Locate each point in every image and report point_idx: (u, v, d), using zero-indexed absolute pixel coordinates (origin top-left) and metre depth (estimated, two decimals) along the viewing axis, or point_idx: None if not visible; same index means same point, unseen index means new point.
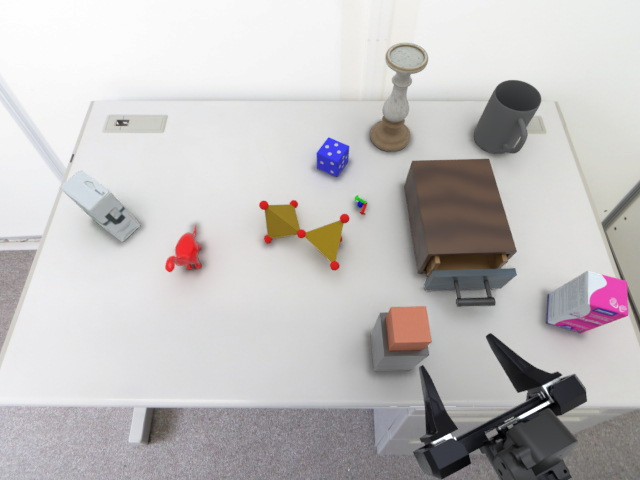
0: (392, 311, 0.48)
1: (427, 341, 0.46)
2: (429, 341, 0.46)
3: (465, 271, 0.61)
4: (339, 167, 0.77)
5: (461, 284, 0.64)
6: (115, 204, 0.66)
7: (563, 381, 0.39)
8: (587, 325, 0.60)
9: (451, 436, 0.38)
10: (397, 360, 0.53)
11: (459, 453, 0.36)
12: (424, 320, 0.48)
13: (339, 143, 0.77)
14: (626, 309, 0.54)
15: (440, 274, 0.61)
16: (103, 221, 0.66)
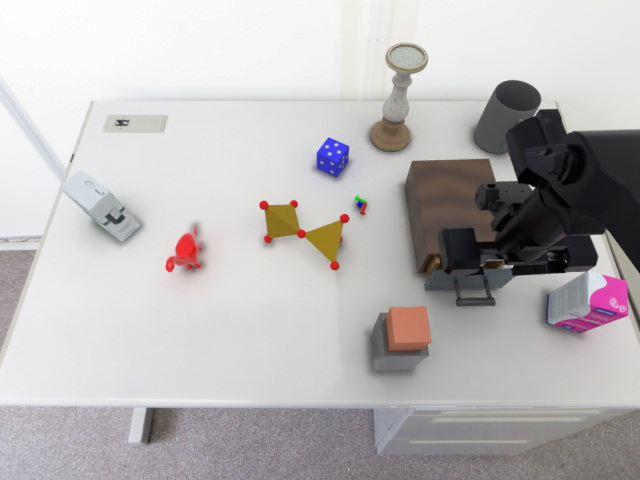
0: (392, 311, 0.48)
1: (427, 341, 0.46)
2: (429, 341, 0.46)
3: None
4: (339, 167, 0.77)
5: (461, 284, 0.64)
6: (115, 204, 0.66)
7: None
8: (587, 325, 0.60)
9: None
10: (397, 360, 0.53)
11: None
12: (424, 320, 0.48)
13: (339, 143, 0.77)
14: (626, 309, 0.54)
15: (440, 274, 0.61)
16: (103, 221, 0.66)
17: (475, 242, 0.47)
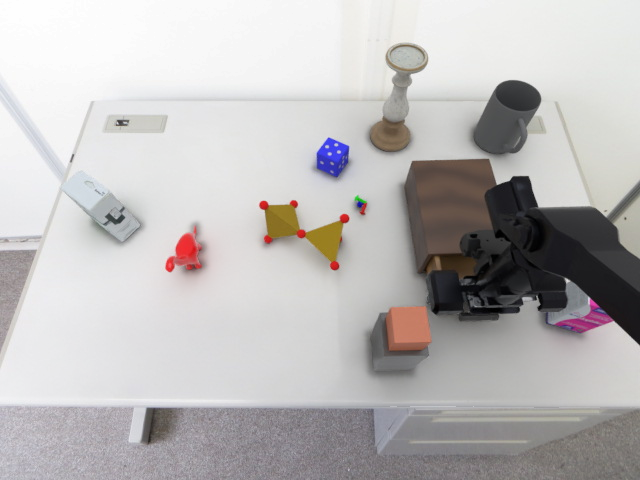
0: (392, 311, 0.48)
1: (427, 341, 0.46)
2: (429, 341, 0.46)
3: None
4: (339, 167, 0.77)
5: (464, 297, 0.63)
6: (115, 204, 0.66)
7: None
8: (587, 325, 0.60)
9: None
10: (397, 360, 0.53)
11: None
12: (424, 320, 0.48)
13: (339, 143, 0.77)
14: None
15: None
16: (103, 221, 0.66)
17: (459, 286, 0.53)
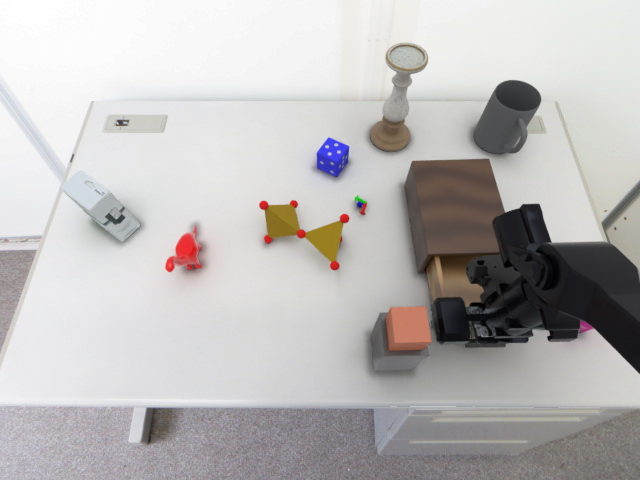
0: (392, 311, 0.48)
1: (427, 341, 0.46)
2: (429, 341, 0.46)
3: None
4: (339, 167, 0.77)
5: None
6: (115, 204, 0.66)
7: None
8: (587, 325, 0.60)
9: None
10: (397, 360, 0.53)
11: None
12: (424, 320, 0.48)
13: (339, 143, 0.77)
14: None
15: None
16: (103, 221, 0.66)
17: (465, 315, 0.51)
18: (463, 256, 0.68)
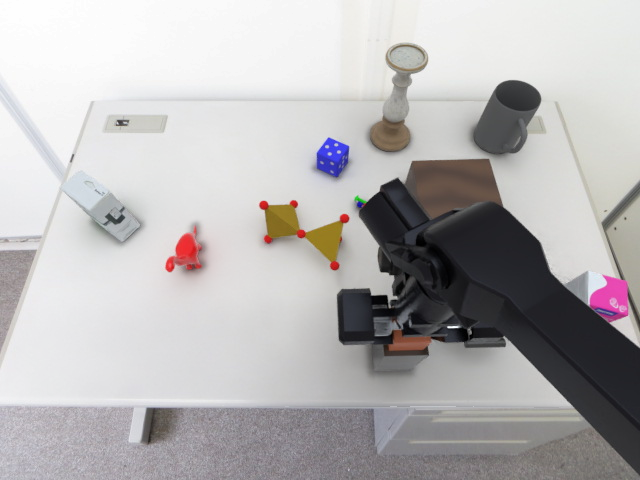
0: None
1: (427, 341, 0.46)
2: (429, 341, 0.46)
3: None
4: (339, 167, 0.77)
5: None
6: (115, 204, 0.66)
7: None
8: None
9: None
10: (397, 360, 0.53)
11: None
12: None
13: (339, 143, 0.77)
14: (626, 309, 0.54)
15: None
16: (103, 221, 0.66)
17: (371, 310, 0.42)
18: None
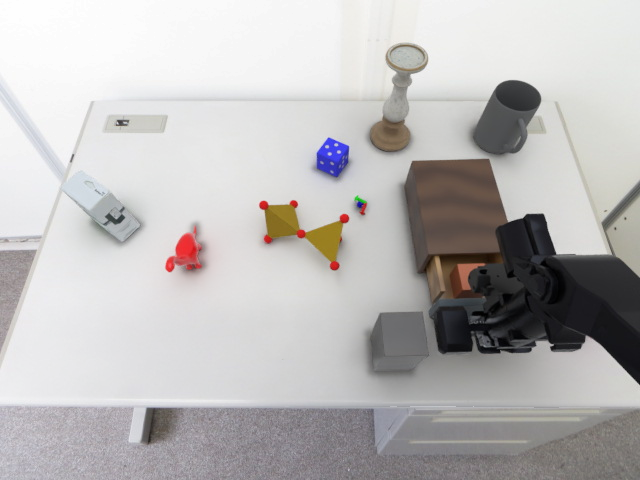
0: (459, 267, 0.62)
1: None
2: None
3: (471, 300, 0.59)
4: (339, 167, 0.77)
5: (467, 312, 0.62)
6: (115, 204, 0.66)
7: None
8: None
9: None
10: (397, 360, 0.53)
11: None
12: None
13: (339, 143, 0.77)
14: None
15: (445, 303, 0.59)
16: (103, 221, 0.66)
17: (468, 325, 0.50)
18: None
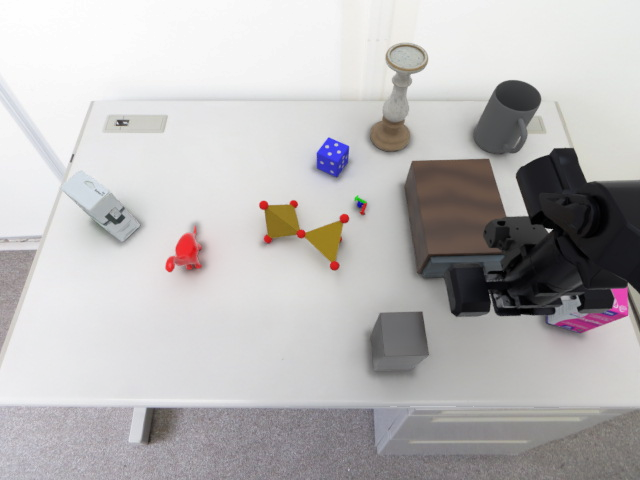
0: None
1: None
2: None
3: (462, 257, 0.62)
4: (339, 167, 0.77)
5: None
6: (115, 204, 0.66)
7: None
8: (587, 325, 0.60)
9: None
10: (397, 360, 0.53)
11: None
12: None
13: (339, 143, 0.77)
14: (626, 309, 0.54)
15: (437, 260, 0.62)
16: (103, 221, 0.66)
17: (484, 283, 0.44)
18: None
